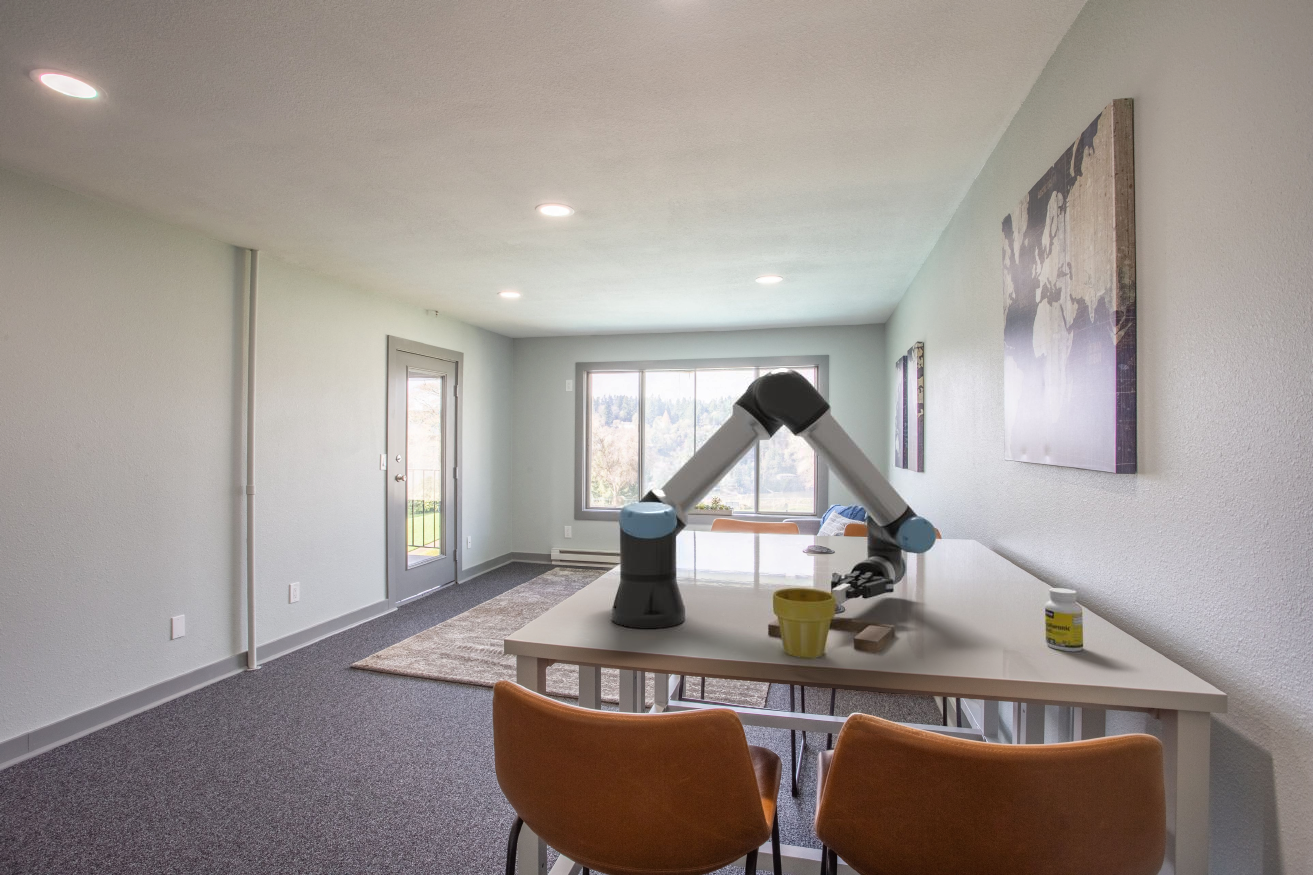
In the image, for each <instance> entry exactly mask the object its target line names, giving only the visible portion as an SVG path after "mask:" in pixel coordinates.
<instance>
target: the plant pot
mask: <svg viewBox="0 0 1313 875" xmlns="http://www.w3.org/2000/svg"><path fill="white" fill-rule="evenodd" d="M772 608H773V609H772V610H773V614H774V615H775V616H776V617H777V619H778V622H779V627H780V631H781V636H780V637H781V641H782V646H783V650H784V653H786V654H787V655H790V656H793V657H797V658H801V659H803V658H804V659H807V658H808V659H809V658H810V659H813V658H814V659H815V658H818V657H819V658H820V657H821V656H823V655H824V653H825V649H826V645H827V640H828V636H829V630H830V622H831V619H832V618H834V617H836V604H835V596H834V595H833V594H831V592H828V591H825V590H821V589H814V588H806V587H804V588H803V587H792V588H790V587H789V588H782V589H778V590H776V591H775V592H773V594H772Z"/></svg>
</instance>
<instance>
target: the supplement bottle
mask: <svg viewBox="0 0 1313 875" xmlns="http://www.w3.org/2000/svg"><path fill="white" fill-rule="evenodd" d="M1048 590H1049V595H1048V596H1049V598H1050V600H1049V601H1046V603H1045V605H1044V617H1045V621H1044V622H1045V623H1044V624H1045V644H1046V645H1047V646H1048V647H1049V648H1052V649H1056V650H1057V651H1058V650H1059V651H1063V652H1070V651H1071V652H1072V653H1074V652H1081V651H1083V649H1084V626H1083V625H1084V623H1083V622H1084V621H1083V608H1082V606H1081V605H1080V604H1078V603H1077V600H1078V593H1077V591H1076V590H1074V589H1070V588H1062V587H1051V588H1049V589H1048Z"/></svg>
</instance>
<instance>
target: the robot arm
mask: <svg viewBox="0 0 1313 875" xmlns="http://www.w3.org/2000/svg"><path fill="white" fill-rule="evenodd" d="M831 409H832V406H831V405H830V404H829V403H828V402H827V400H825V398H824V397H823V396H822V395H821V393H820V392H819V391H818V390H817V389H816V388H815V387H814V386H813V384H812V383H811V382H810V381H809V380H808V379H807V378H806V376H804V375H802V374H801V373H799V372H798V371H796V370H794V369H790V368H785V367H784V368H776V369H772V370H771V371H769V372H768V373H766V374H764V375H763V376H759V377H758V378H756V379H754V380H753V381H752V382H751V383H750V384H749V385H748V386H747V389H746V390H745V392H744V393H743V394H742V395H741V396H740V397H739V398H738V399H737V400H736V401H735V402H734V404H733V405H732V414H731V416H729V418H728V419H727V420H726V421H725V422H724V423H723V424H722V425H721V426H720V427H719V428H718V429H717V430H716V431H715V432H714V433H713V435H711V437H709V438H708V440H707V441H705V443H704V444H703V445H702V446H701V447H699V449H698V450H697V451H696V452H695V453H694V454H693V455H692V456H691V457H690V458H689V459H688V460H687V461H686V462H685V464H683V465H682V467H680V468H679V469H678V471H677V472H676V473H674V474H673V476H672V477H671V478H670V479H669V480H668V481H666V483H665V484H664V485H663V486H662V487H661V488H653V489H650V490H649V491H648V492H647V493H645V495H644V496H643V497H642V498H641V499H640V500H639V501H638V502H633V503H631V504H627V505H626V504H625V506H623V507H622V508H621V510H620V513H619V514H620V515H619V518H618V526H619V570H620V571H619V573H620V575H619V577H620V579H619V585H618V588H617V591H616V593H615V598H614V601H613V605H612V607H611V621H612V620H613V621H614V622H613V623H615V622H616V623H618V624H617V625H619V624H621V625H620V626H622V625H625V626H624V627H626V626H629V627H628V628H633V627H634V628H635V629H660V628H668V627H673V626H676V625H679V624H681V623H683V622H684V621H685V620H686V606H685V604H684V601H683V597H682V594H681V591H680V590H681V589H680V588H679V584H678V580H677V579H678V578H677V536H678V535H679V534H680V533H681V532H682V531H683V530H684V529H685V528H686V527H687V526H688V515H689V514H690V513H691V512H692V511H693V510H694V509H695V507H696V506H698V505H699V504H700V503H701V502H702V500H703V499H704V498H705V497H707V495H708V494H709V493H710V492H711V491H712V490H713V489H714V488H716V486H717V485H718V484H719V483H720V482H721V481H722V480H723V479H724V478H725V476H727V475H728V474H729V472H730V471H731V470H732V469H733V468H734V467H735V466H737V464H738V463H739V462H740V461H741V460H742V459H743V458H744V457H745V456H746V455H747V454H748V453H749V451H750V450H752V449H753V448H754V447H755V446H756V445H757V444H758V442H759V441H768V440H770V439H771V438H772V437H774V435H776V433H777V432H778V431H779V430H781V428H782V427H783V426H785V427H786V428H787V429H788V430H789V431H790V432H791V433H792V434H793V436H795V437H801V438H802V439H803V440H804V441H805V442H806V444H808V446H809V447H810V448H811V449H812V450H813V451H814V453H816V455H817V456H818V458H820V459H821V460H822V462H823V463H824V464H825V466H827V468H829V470H830V471H831V472H832V473H833V475H834V476H835V477H836V478H837V479H838V481H840V483H842V485H843V486H844V487H845V489H846V490H847V491H848V492H849V493H850V494H851V496H852V497H853V498H854V499H855V500H856V501H857V502H858V504H860V506H861V507H862V508H863V509H864V510H865V511H866V516H865V519H866V541H867V552H866V553H867V559H865V560H862V561H860V562H858V563H857V564H855V565H854V566H853V568H852V570H850V573H846V574H844V576H843V575H842V574H839V573H837V572H833V573H832V574H831V575H832V576H831V577H832V579H831V581H830V593H831V594H833V595H834V596H835V605H839V606H840V605H843V604H844V603H846V602H847V601H849V600H852V599H857V598H860V597H861V598H862V599H864V600H866V599H867V600H868V599H871V598H873V597H877V596H880V595H884V594H887V593H890V594H892V593H894V592H895V591H894V588H895V587H894V586H895V585H896V584H899V582H901V581H902V579H903V578H904V577H905V575H906V572H907V562H906V561H905V558H904V557H903V552H905V553H910V554H911V553H912V554H917V555H918V554H920V555H921V554H924V553H926V552H928V551H929V550H931V549H932V548H933V546H934V545H935V543H936V540H937V531H936V529H935V526H934V525H933V523H932V522H930V521H929V520H928V519H926V518H925V517H923V516H922V517H921V516H919V515H917V513H916V512H915V510H914V509H912V507H911V506H910V505H909V504H908V503H907V502H906V501H905V499H904V498H902V496H901V495H900V494H899V492H898V491H896V489H895V488H894V487H893V486H892V484H891V483H890V482H889V481H888V480H887V478H886V477H885V476H884V475H883V474H882V473H881V472H880V471H879V469H878V468H877V467H876V466H875V464H873V462H872V461H871V460H870V459H869V457H868V456H867V455H866V454H865V453H864V452H863V451H862V449H861V448H860V447H859V445H857V443H856V442H855V441H854V440H853V439H852V438H851V436H850V435H849V434H848V433H847V431H846V430H844V428H843V427H842V426H841V425H840V424H839V422H838V421H837V420H836V419H835V418H834V416H833V415H832V414H831V413H832V412H831ZM616 623H615V624H616Z"/></svg>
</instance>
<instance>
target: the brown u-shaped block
mask: <svg viewBox="0 0 1313 875" xmlns="http://www.w3.org/2000/svg"><path fill="white" fill-rule="evenodd" d="M830 628H831V629H836V630H837V629H838V630H843V631H848V632H849V631H850V632H856V633H858V634H857V635H855V637H853V649H854V650H860V651H866V652H872V653H879V652H880V651H881V650H882V649H884V647H885V646H886V645H887V644H888V643H890V641H891V640H892V639H893V638H894V637H895V636H896V625H894V624H888V623H887V624H886V623H881V622H874V621H873V622H872V621H866V620H860V619H859V620H858V619H854V618H852V619H851V618H845V617H839V616H834V618H832V619H831V622H830V627H829V629H830ZM767 630H768V631H767V633H768V635H772V636H779V637H782V636H781V631H780V627H779V622H778V618H777V619H776V620H773V621H772V622H770V623H768V624H767Z"/></svg>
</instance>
